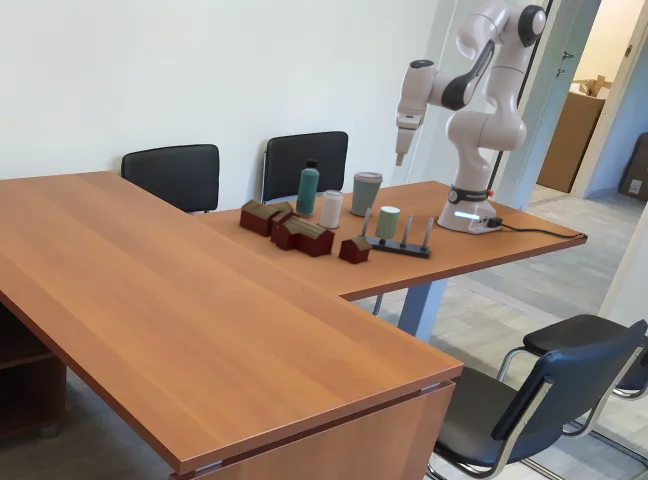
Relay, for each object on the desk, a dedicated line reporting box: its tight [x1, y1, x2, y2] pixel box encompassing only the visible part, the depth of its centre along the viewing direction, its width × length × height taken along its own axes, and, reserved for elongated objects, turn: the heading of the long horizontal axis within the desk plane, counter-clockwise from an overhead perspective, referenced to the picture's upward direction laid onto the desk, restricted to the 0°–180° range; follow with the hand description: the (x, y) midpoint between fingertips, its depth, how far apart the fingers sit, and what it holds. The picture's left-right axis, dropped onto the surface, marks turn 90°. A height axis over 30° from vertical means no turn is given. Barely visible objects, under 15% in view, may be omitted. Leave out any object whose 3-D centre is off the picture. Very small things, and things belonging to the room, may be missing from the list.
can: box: [318, 189, 344, 230], centre depth 246 cm, size 6×6×12 cm
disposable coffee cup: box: [351, 171, 384, 217], centre depth 260 cm, size 11×11×15 cm
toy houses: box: [239, 199, 373, 265], centre depth 230 cm, size 45×20×10 cm, turn 35°
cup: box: [374, 205, 401, 240], centre depth 229 cm, size 6×6×9 cm
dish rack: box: [356, 208, 434, 259], centre depth 230 cm, size 23×8×12 cm, turn 69°
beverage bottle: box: [295, 158, 320, 215], centre depth 252 cm, size 6×7×20 cm
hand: (399, 161), depth 227 cm, fingers open, 8 cm apart
